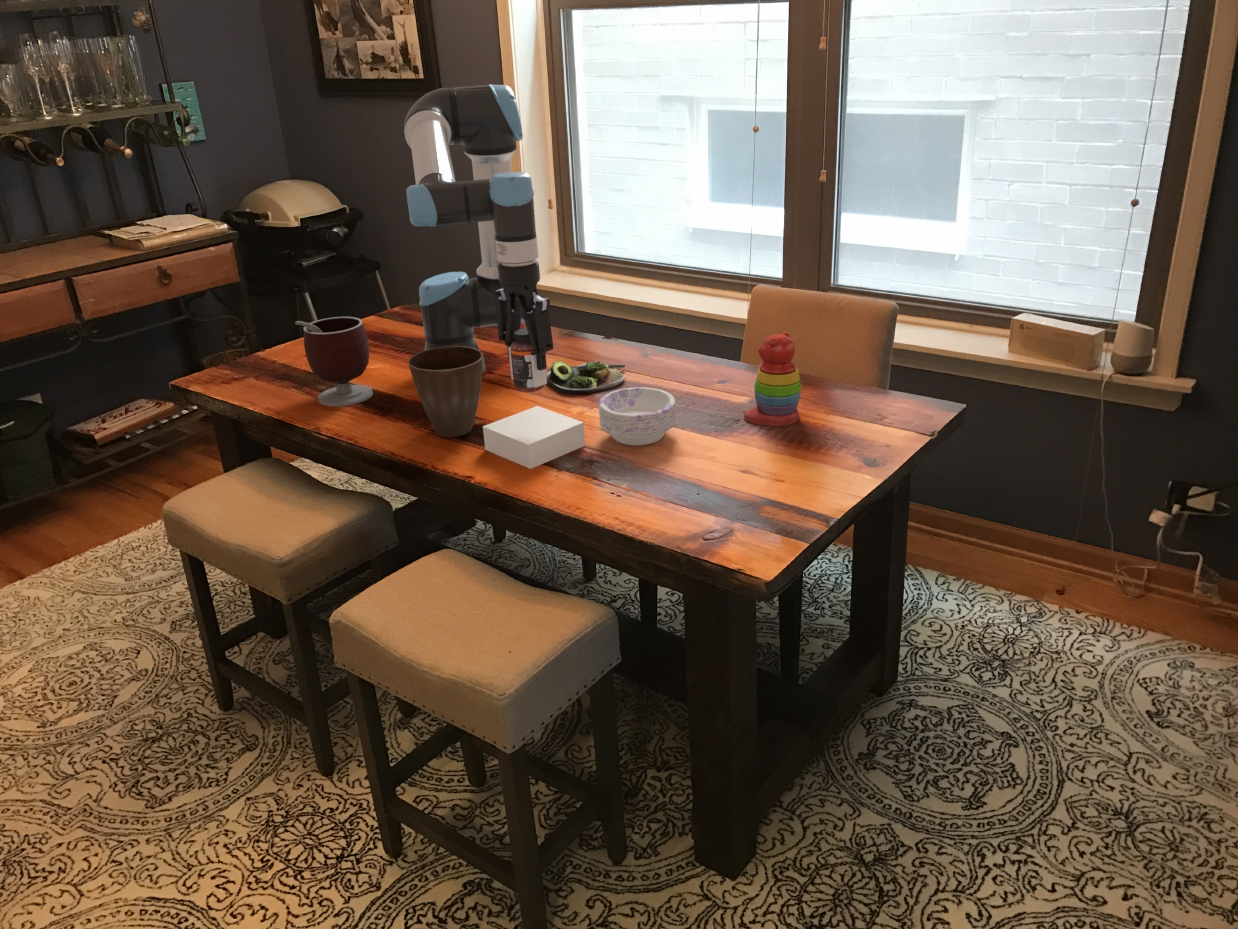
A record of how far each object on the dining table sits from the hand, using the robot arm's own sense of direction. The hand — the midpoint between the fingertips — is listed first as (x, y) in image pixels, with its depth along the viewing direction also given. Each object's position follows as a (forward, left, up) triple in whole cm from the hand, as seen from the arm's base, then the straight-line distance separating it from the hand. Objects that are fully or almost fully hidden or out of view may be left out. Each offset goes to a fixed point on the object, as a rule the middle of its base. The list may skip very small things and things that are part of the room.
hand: (529, 381), depth 189 cm
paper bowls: (+12, +17, -14) cm, 25 cm away
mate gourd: (-57, -10, -14) cm, 60 cm away
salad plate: (-21, +32, -15) cm, 41 cm away
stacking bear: (+27, +42, -14) cm, 52 cm away
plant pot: (-20, -5, -14) cm, 25 cm away
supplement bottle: (0, 0, -2) cm, 2 cm away
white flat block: (0, 0, -14) cm, 14 cm away
